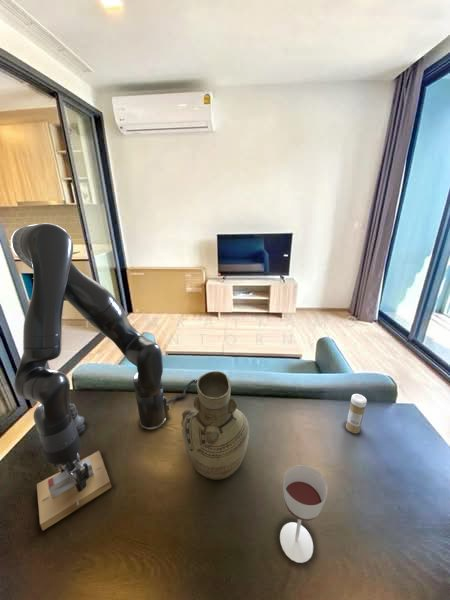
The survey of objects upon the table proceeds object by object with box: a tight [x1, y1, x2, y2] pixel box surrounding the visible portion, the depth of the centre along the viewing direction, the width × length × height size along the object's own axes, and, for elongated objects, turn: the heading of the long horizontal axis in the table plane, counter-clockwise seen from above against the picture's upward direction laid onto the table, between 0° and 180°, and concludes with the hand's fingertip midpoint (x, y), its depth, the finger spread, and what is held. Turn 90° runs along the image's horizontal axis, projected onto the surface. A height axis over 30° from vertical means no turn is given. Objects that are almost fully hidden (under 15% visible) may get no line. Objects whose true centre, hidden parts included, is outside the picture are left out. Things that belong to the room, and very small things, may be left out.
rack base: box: [36, 450, 112, 531], centre depth 69 cm, size 16×14×3 cm
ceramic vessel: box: [181, 370, 250, 481], centre depth 73 cm, size 19×21×30 cm
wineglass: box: [279, 464, 328, 564], centre depth 55 cm, size 8×9×20 cm
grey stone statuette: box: [68, 402, 86, 436], centre depth 86 cm, size 6×6×12 cm
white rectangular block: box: [48, 458, 94, 499], centre depth 68 cm, size 10×2×4 cm, turn 129°
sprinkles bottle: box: [345, 393, 368, 434], centre depth 85 cm, size 5×5×13 cm
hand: (75, 482), depth 69 cm, fingers open, 5 cm apart
